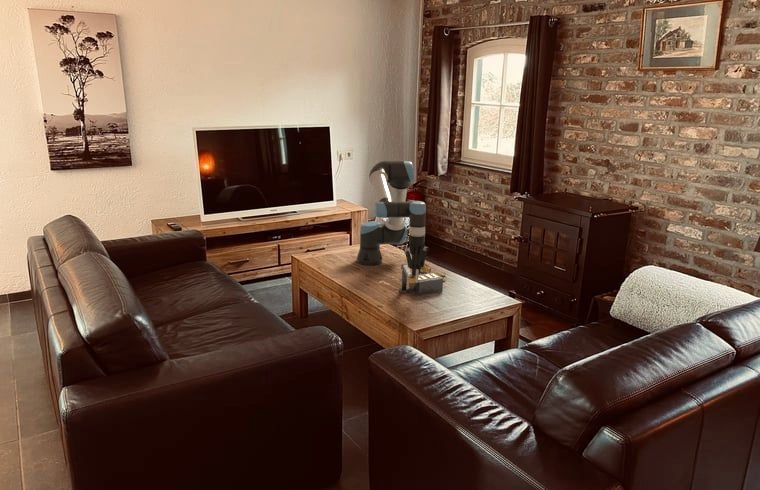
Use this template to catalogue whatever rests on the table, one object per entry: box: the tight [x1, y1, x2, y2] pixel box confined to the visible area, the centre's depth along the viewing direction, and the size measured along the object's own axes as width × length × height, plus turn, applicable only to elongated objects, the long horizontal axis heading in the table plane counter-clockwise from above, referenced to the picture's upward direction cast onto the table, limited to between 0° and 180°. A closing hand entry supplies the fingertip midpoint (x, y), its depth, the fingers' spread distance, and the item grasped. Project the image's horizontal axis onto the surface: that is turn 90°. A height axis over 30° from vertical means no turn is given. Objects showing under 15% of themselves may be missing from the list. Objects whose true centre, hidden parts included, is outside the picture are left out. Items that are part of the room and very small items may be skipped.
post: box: [398, 269, 410, 294], centre depth 293 cm, size 5×5×11 cm
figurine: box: [420, 262, 446, 282], centre depth 316 cm, size 12×9×15 cm
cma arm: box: [400, 263, 415, 284], centre depth 282 cm, size 4×23×2 cm, turn 7°
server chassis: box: [408, 272, 444, 296], centre depth 296 cm, size 10×14×8 cm
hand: (415, 281), depth 281 cm, fingers closed
